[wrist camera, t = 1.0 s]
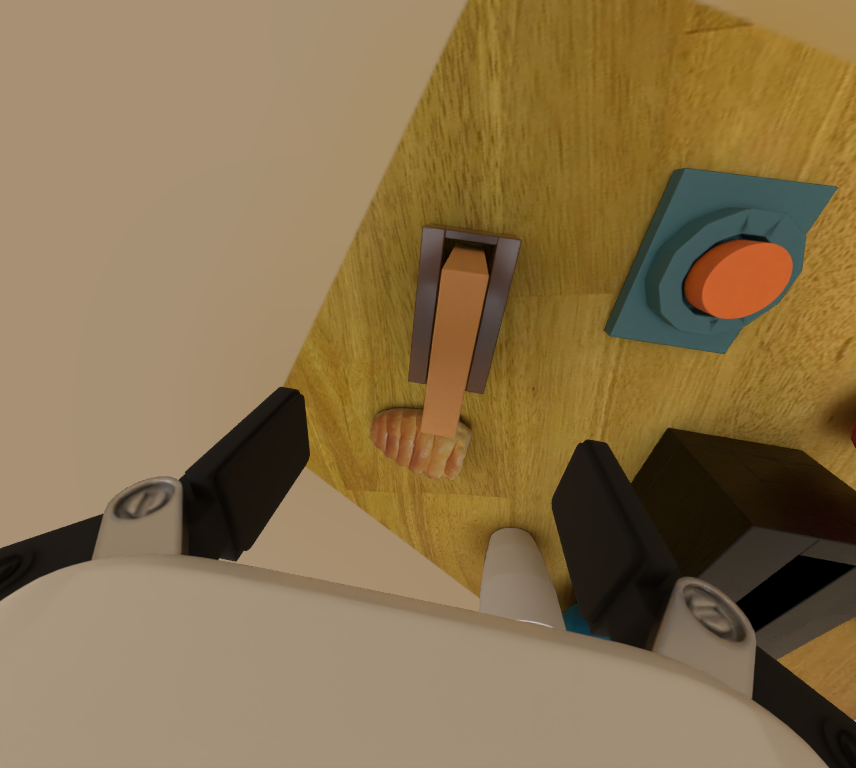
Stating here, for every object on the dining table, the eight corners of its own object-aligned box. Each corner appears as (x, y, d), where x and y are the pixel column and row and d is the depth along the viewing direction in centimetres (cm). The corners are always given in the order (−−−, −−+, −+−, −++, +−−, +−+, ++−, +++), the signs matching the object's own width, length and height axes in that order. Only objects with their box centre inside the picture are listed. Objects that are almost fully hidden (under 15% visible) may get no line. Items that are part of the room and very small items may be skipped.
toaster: (668, 427, 26) (753, 526, 18) (802, 450, 26) (952, 563, 18) (598, 532, 34) (636, 634, 26) (700, 551, 33) (772, 662, 25)
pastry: (370, 443, 32) (359, 470, 29) (379, 390, 29) (367, 414, 25) (457, 466, 32) (455, 496, 29) (477, 416, 29) (477, 443, 25)
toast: (455, 243, 21) (442, 268, 13) (483, 247, 21) (489, 275, 13) (438, 358, 26) (420, 432, 17) (461, 361, 26) (454, 438, 17)
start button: (708, 234, 17) (730, 237, 16) (783, 244, 17) (813, 248, 15) (670, 305, 19) (687, 313, 18) (737, 314, 19) (759, 324, 17)
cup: (464, 531, 37) (461, 629, 29) (524, 510, 34) (541, 613, 25) (501, 566, 40) (508, 665, 31) (560, 549, 37) (585, 655, 28)
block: (673, 169, 18) (706, 163, 15) (818, 187, 17) (877, 184, 15) (603, 330, 23) (619, 346, 20) (713, 347, 23) (744, 365, 20)
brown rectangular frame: (429, 223, 21) (422, 225, 18) (516, 235, 21) (522, 239, 18) (414, 364, 27) (407, 381, 24) (482, 376, 26) (483, 394, 24)
